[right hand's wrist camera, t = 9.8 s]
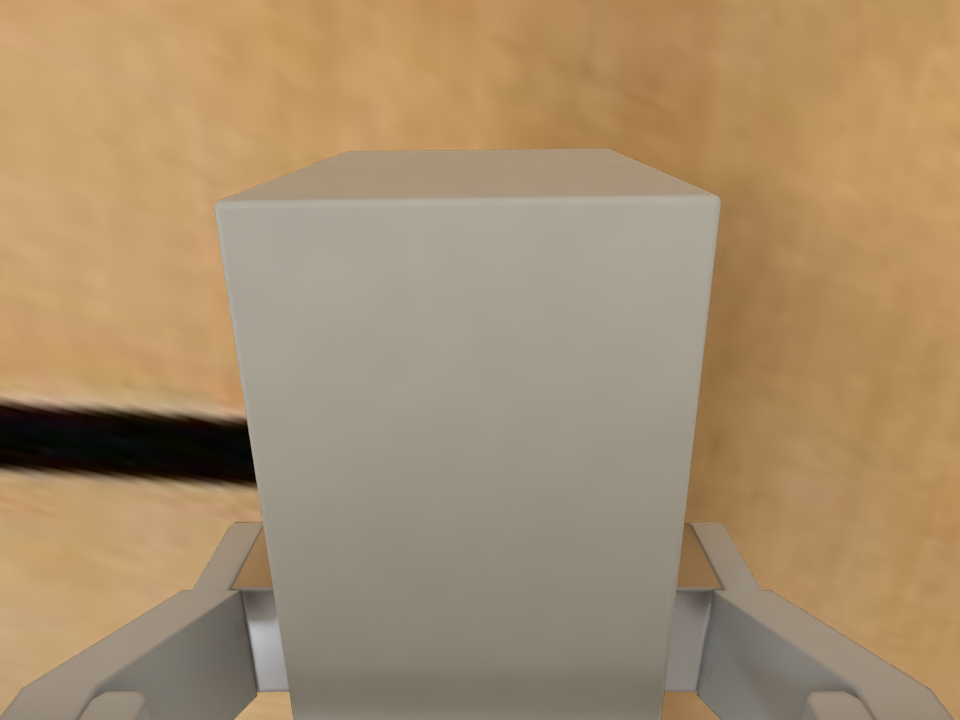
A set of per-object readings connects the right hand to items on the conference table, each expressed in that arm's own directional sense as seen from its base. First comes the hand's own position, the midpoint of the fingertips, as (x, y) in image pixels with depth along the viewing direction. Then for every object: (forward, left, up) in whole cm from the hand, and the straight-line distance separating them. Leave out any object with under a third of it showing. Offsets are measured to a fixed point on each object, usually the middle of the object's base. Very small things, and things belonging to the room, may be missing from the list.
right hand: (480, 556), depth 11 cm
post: (+19, -8, -3) cm, 21 cm away
